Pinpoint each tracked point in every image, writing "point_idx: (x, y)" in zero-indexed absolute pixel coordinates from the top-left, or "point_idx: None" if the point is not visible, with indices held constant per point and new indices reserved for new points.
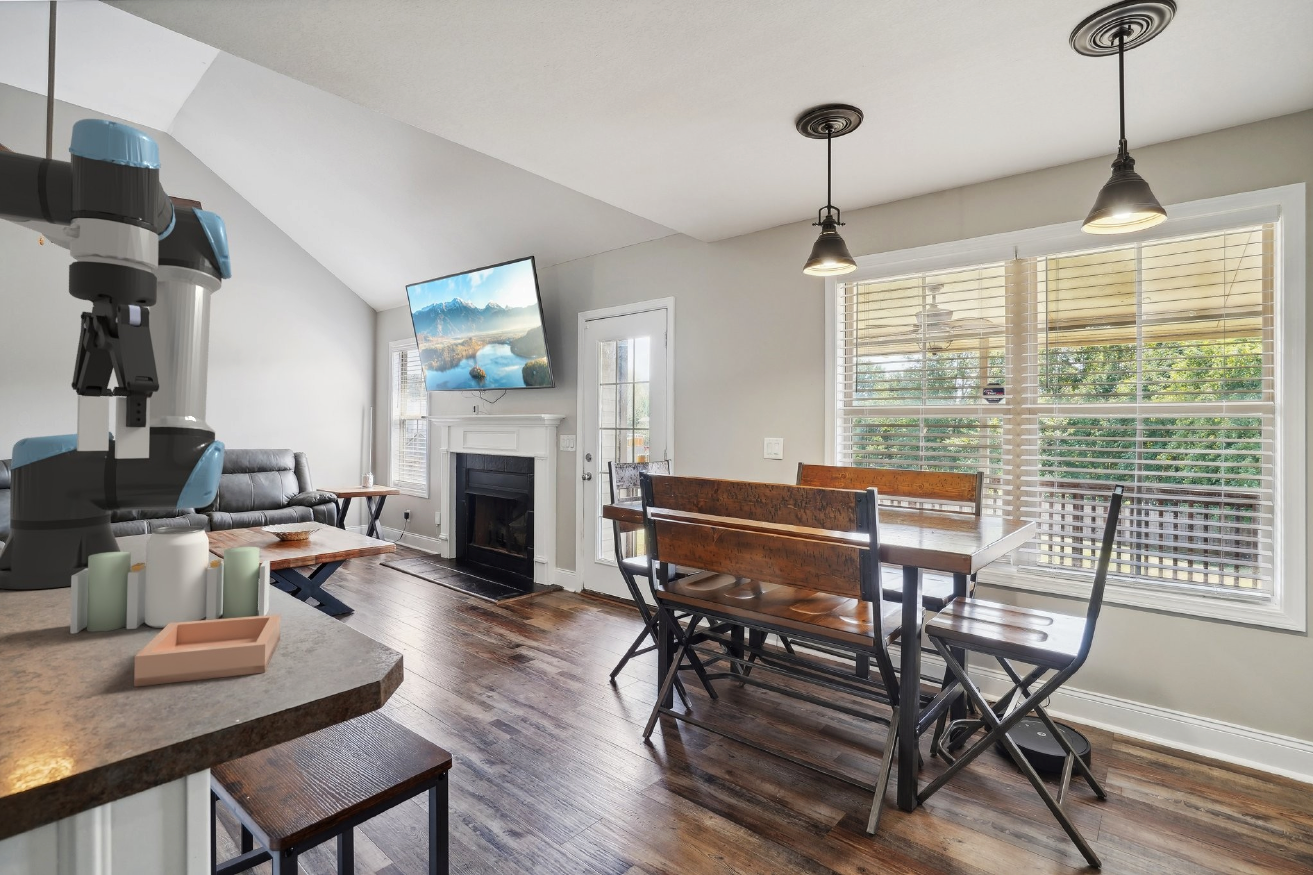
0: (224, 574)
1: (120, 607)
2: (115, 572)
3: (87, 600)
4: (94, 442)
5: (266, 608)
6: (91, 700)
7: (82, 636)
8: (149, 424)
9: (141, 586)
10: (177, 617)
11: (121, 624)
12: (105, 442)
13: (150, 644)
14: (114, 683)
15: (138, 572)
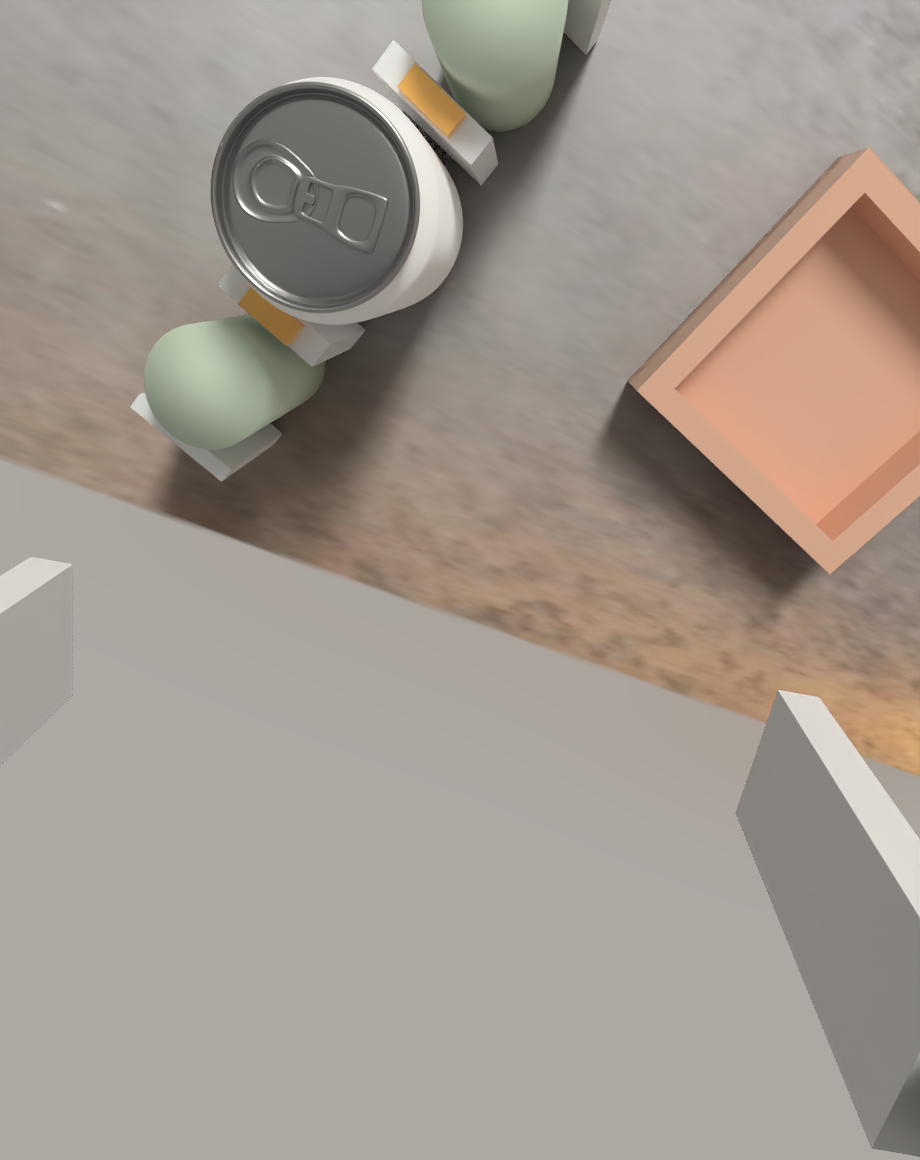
0: (486, 102)
1: None
2: (281, 389)
3: None
4: (43, 652)
5: None
6: (795, 621)
7: (324, 438)
8: (908, 824)
9: None
10: (453, 263)
11: None
12: (46, 600)
13: (775, 512)
14: (744, 559)
15: (323, 338)
